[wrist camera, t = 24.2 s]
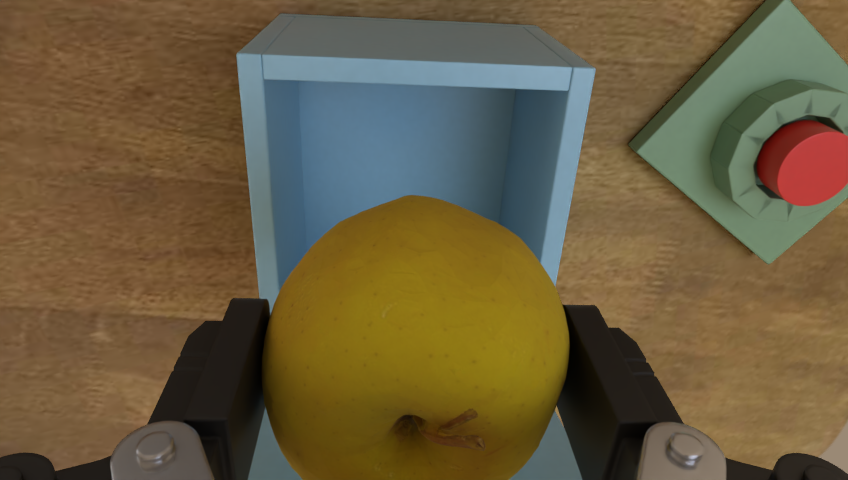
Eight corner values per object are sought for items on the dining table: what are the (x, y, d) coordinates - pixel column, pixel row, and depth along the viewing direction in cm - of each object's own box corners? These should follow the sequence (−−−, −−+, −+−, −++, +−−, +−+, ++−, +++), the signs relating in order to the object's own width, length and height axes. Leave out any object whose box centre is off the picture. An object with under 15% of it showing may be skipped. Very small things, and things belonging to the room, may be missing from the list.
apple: (535, 142, 15) (660, 337, 8) (512, 341, 18) (590, 605, 11) (282, 143, 15) (189, 346, 8) (302, 345, 18) (249, 621, 11)
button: (740, 163, 28) (761, 177, 27) (804, 104, 27) (829, 115, 25) (784, 204, 29) (807, 220, 28) (847, 149, 28) (874, 162, 27)
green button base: (626, 144, 30) (650, 165, 28) (771, -7, 27) (813, 1, 24) (756, 254, 34) (788, 283, 31) (897, 133, 31) (945, 153, 28)
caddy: (279, 13, 26) (235, 53, 19) (537, 25, 27) (596, 68, 19) (295, 274, 33) (267, 384, 25) (502, 277, 34) (537, 384, 26)
